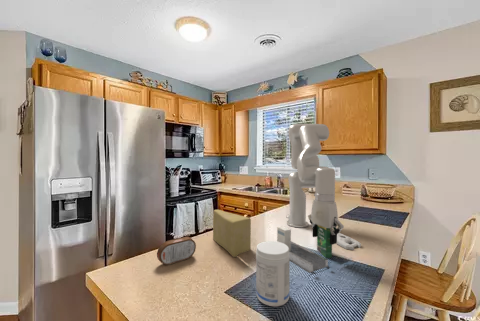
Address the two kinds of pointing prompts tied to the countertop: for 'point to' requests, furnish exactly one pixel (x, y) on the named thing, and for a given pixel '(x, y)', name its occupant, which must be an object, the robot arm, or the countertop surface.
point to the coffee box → (324, 241)
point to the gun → (347, 242)
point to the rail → (306, 258)
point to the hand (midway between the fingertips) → (324, 239)
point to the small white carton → (284, 236)
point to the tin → (176, 250)
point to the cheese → (232, 232)
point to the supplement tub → (272, 273)
